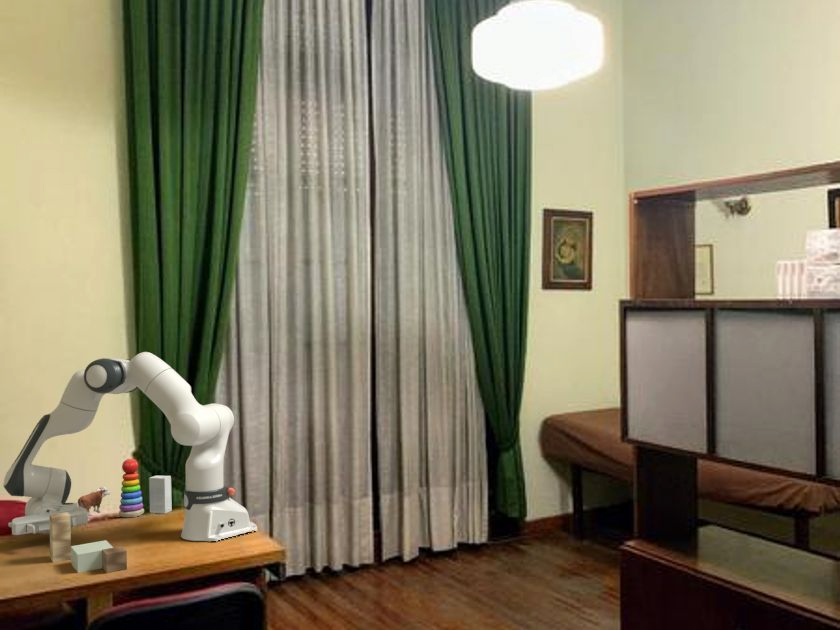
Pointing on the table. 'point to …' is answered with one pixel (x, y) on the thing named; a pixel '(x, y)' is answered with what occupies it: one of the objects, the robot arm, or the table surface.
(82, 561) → the plinth
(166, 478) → the skincare box
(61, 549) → the oak post
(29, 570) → the table surface
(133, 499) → the stacking toy
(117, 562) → the walnut block
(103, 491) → the bull figurine
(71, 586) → the table surface
